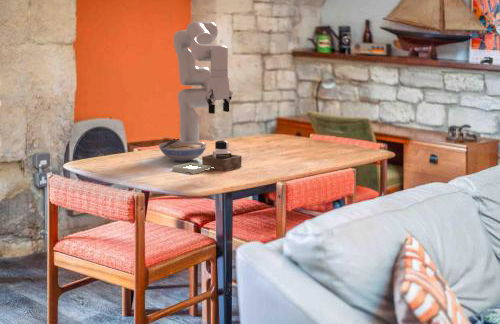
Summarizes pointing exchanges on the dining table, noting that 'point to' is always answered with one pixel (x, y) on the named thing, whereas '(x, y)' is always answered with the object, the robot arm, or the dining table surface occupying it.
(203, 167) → the tray
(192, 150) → the ramen bowl
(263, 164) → the dining table surface
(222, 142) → the medicine bottle
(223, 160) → the holder
